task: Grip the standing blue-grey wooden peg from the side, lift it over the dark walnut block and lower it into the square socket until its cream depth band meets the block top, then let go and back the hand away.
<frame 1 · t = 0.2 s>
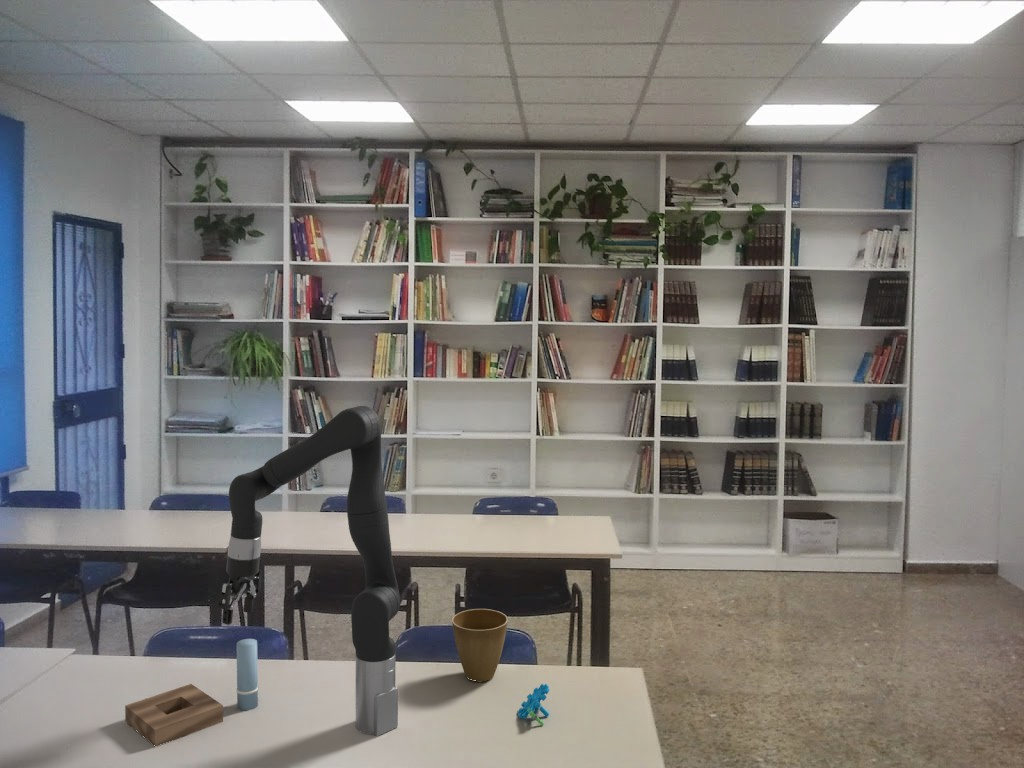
hand: (237, 617, 197), 22 cm above the table, tool pointing down, fingers open, 8 cm apart
blue green construction toy: (533, 718, 196), on the table
peg: (247, 705, 199), on the table
plant pot: (479, 677, 218), on the table
socket block: (174, 721, 191), on the table
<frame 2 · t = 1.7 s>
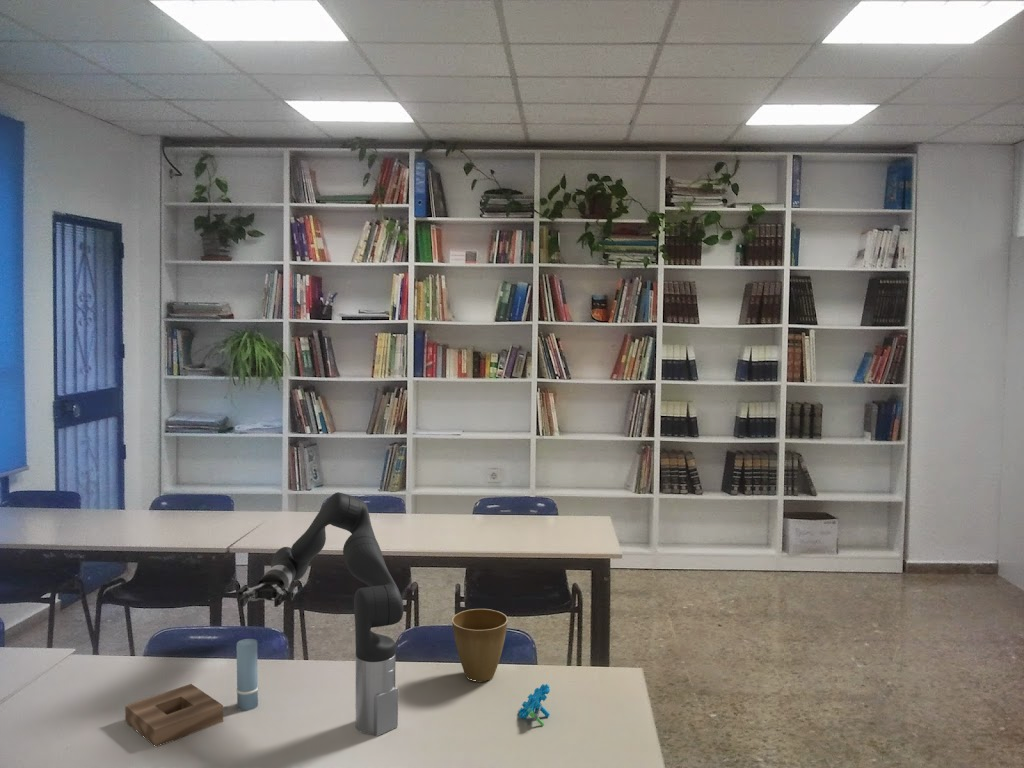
hand: (259, 603, 208), 22 cm above the table, tool horizontal, fingers open, 8 cm apart
nothing on the table moved.
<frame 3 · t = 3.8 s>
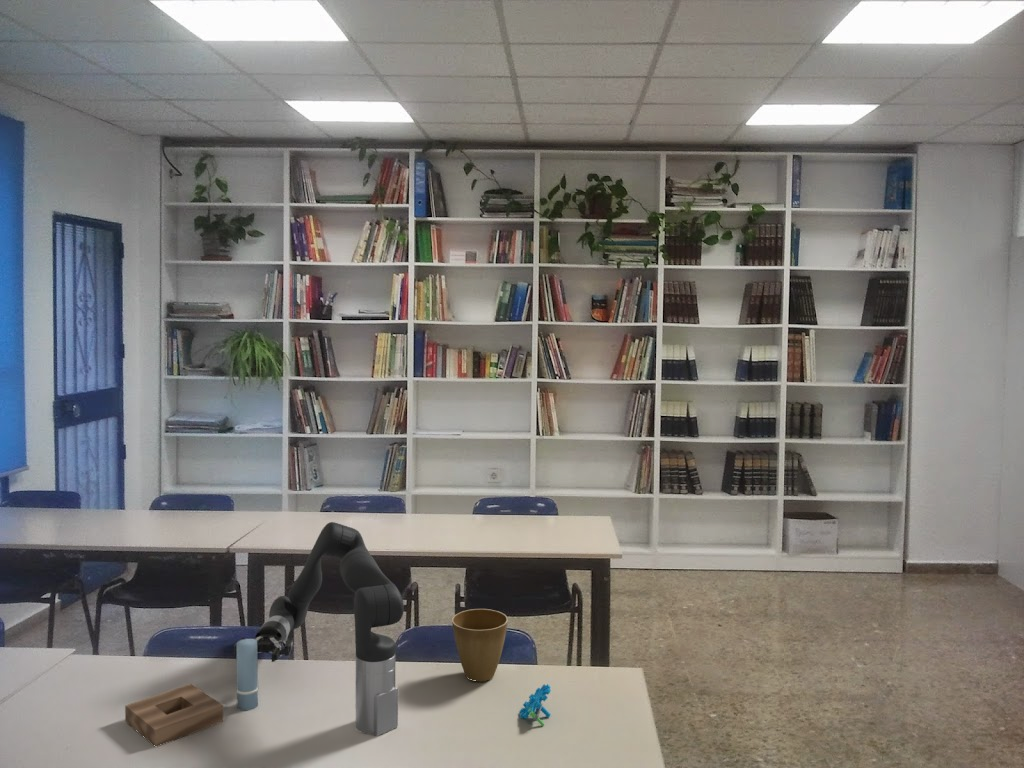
hand: (256, 658, 206), 9 cm above the table, tool horizontal, fingers open, 8 cm apart
nothing on the table moved.
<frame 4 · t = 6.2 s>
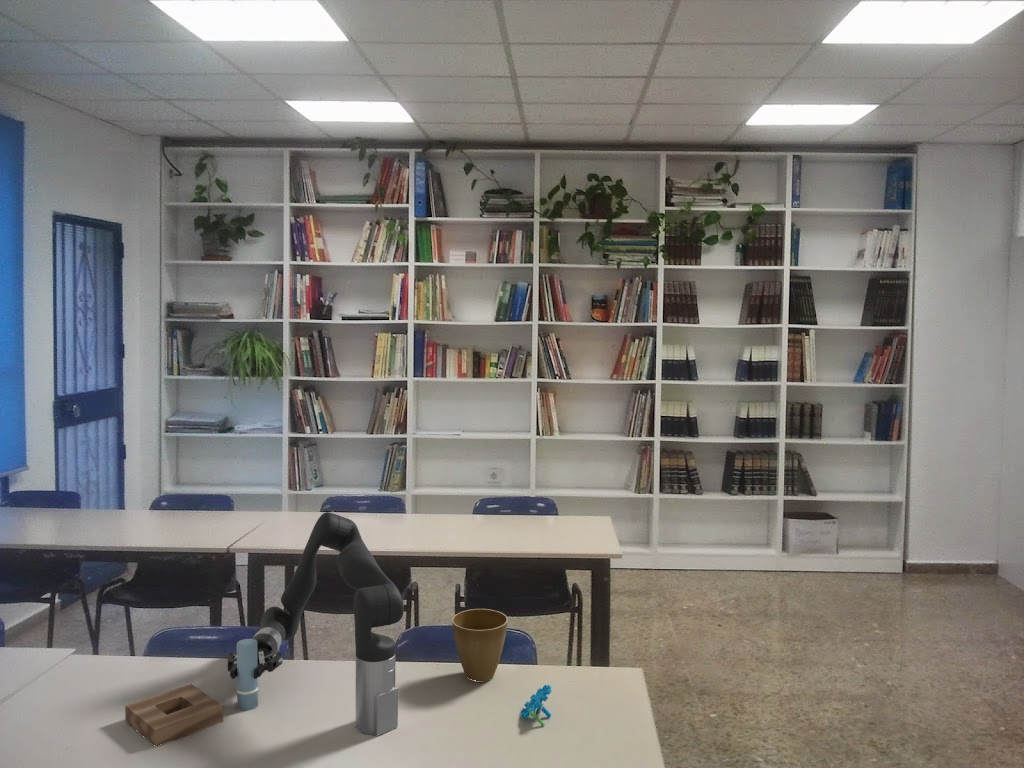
hand: (244, 675, 196), 9 cm above the table, tool horizontal, fingers closed on peg, 4 cm apart
peg: (247, 705, 199), on the table, touching gripper
everything else where it was.
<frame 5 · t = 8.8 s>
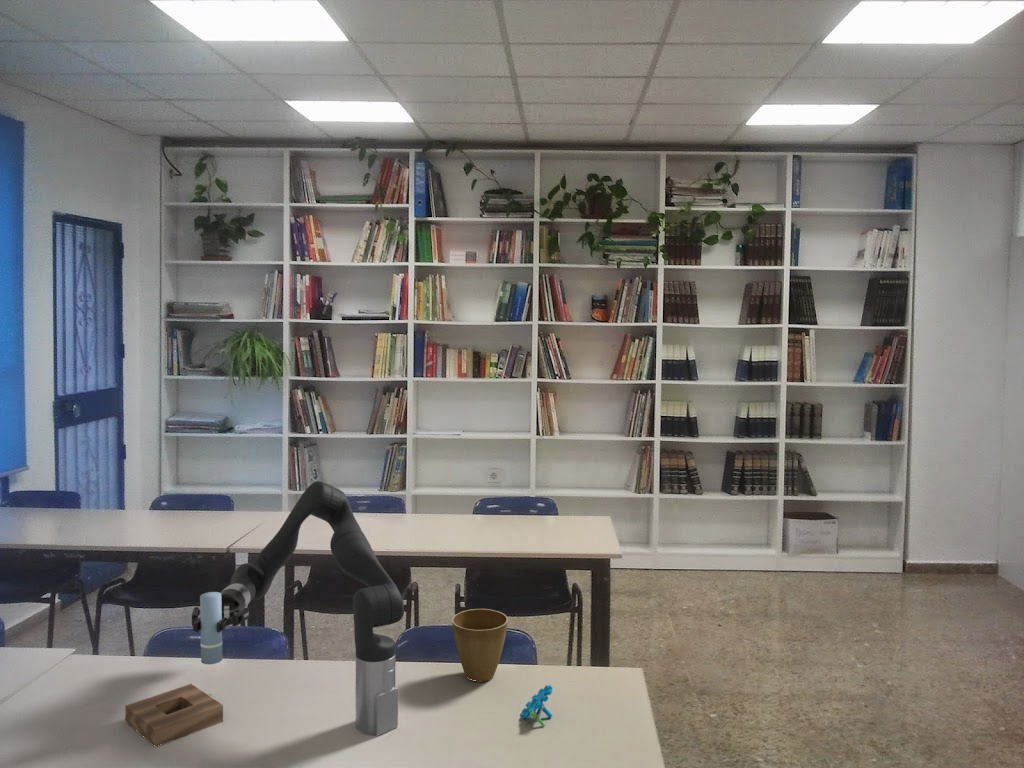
hand: (207, 628, 191), 22 cm above the table, tool horizontal, fingers closed on peg, 4 cm apart
peg: (211, 660, 195), point 13 cm above the table, touching gripper
everything else where it was.
when the fingers open (10 cm above the table, at t = 11.7 s): peg drops 1 cm, resting in socket block.
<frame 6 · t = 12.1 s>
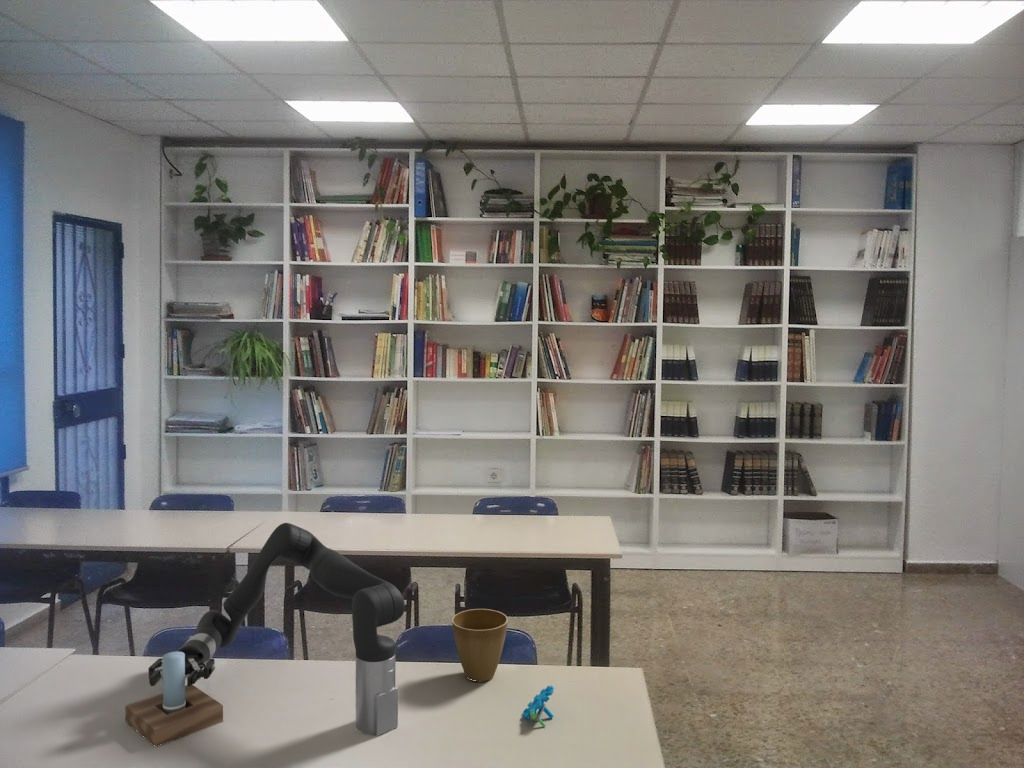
hand: (170, 682, 188), 11 cm above the table, tool horizontal, fingers open, 8 cm apart
peg: (174, 721, 191), resting in socket block
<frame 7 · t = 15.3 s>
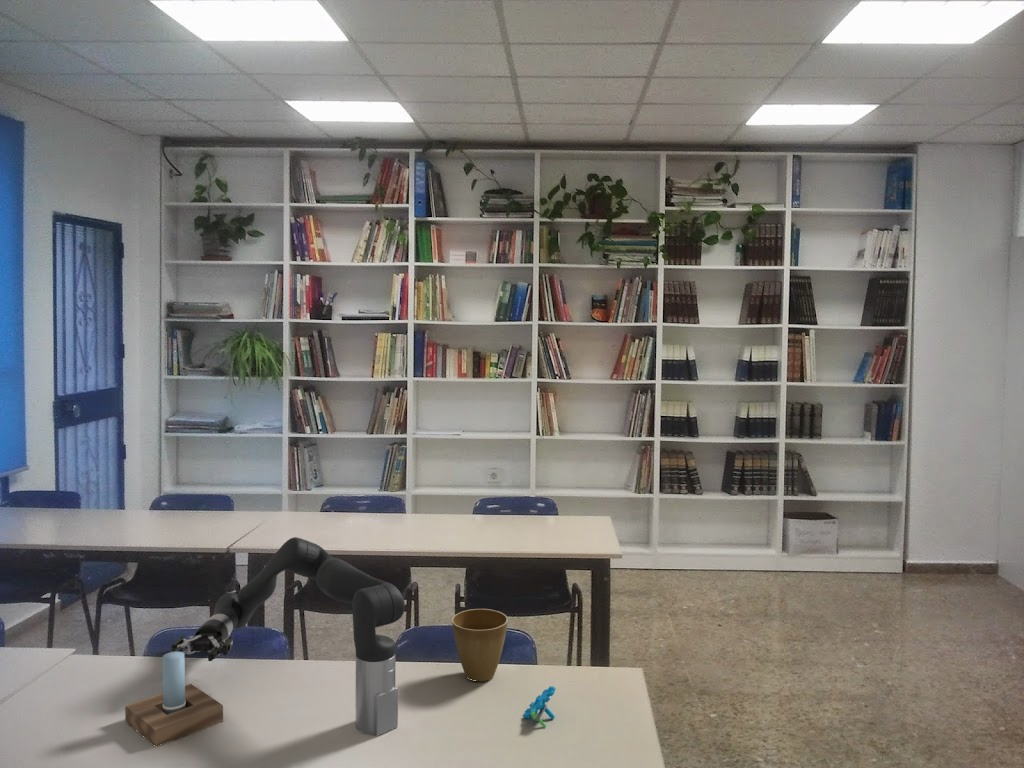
hand: (192, 657, 201), 11 cm above the table, tool horizontal, fingers open, 8 cm apart
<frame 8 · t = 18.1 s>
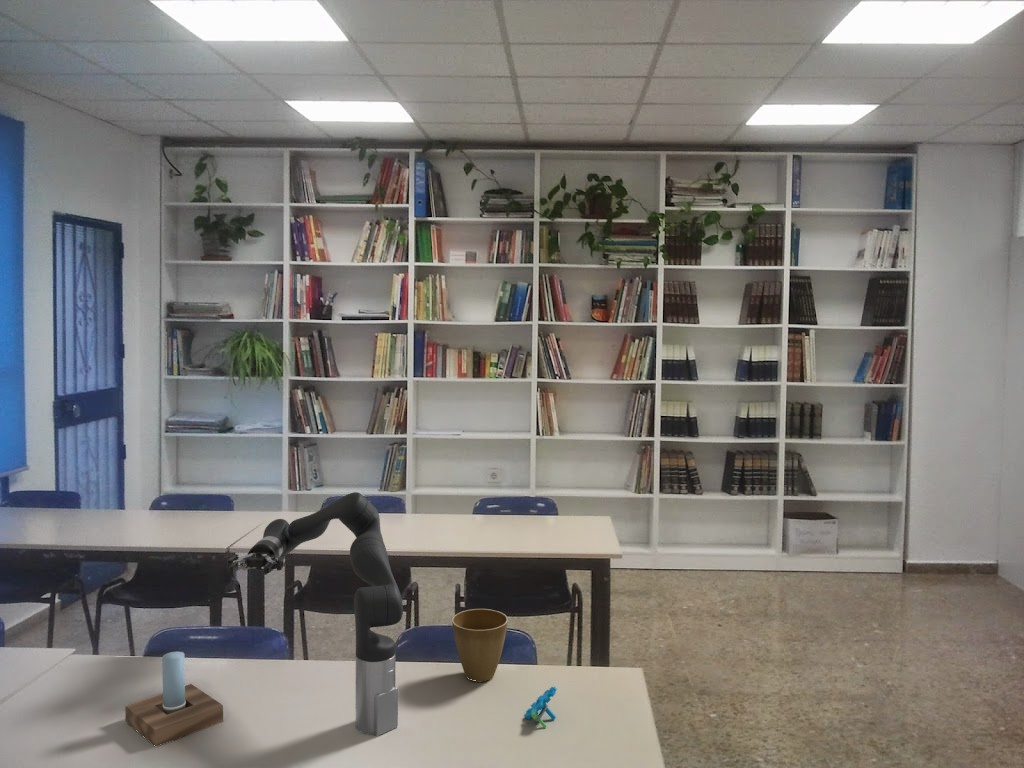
hand: (248, 570, 209), 30 cm above the table, tool horizontal, fingers open, 8 cm apart
at the end: peg 0.1 cm off-centre on the socket block, point 0.0 cm above the socket block's base; peg tilted 0°; the gripper is holding nothing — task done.
